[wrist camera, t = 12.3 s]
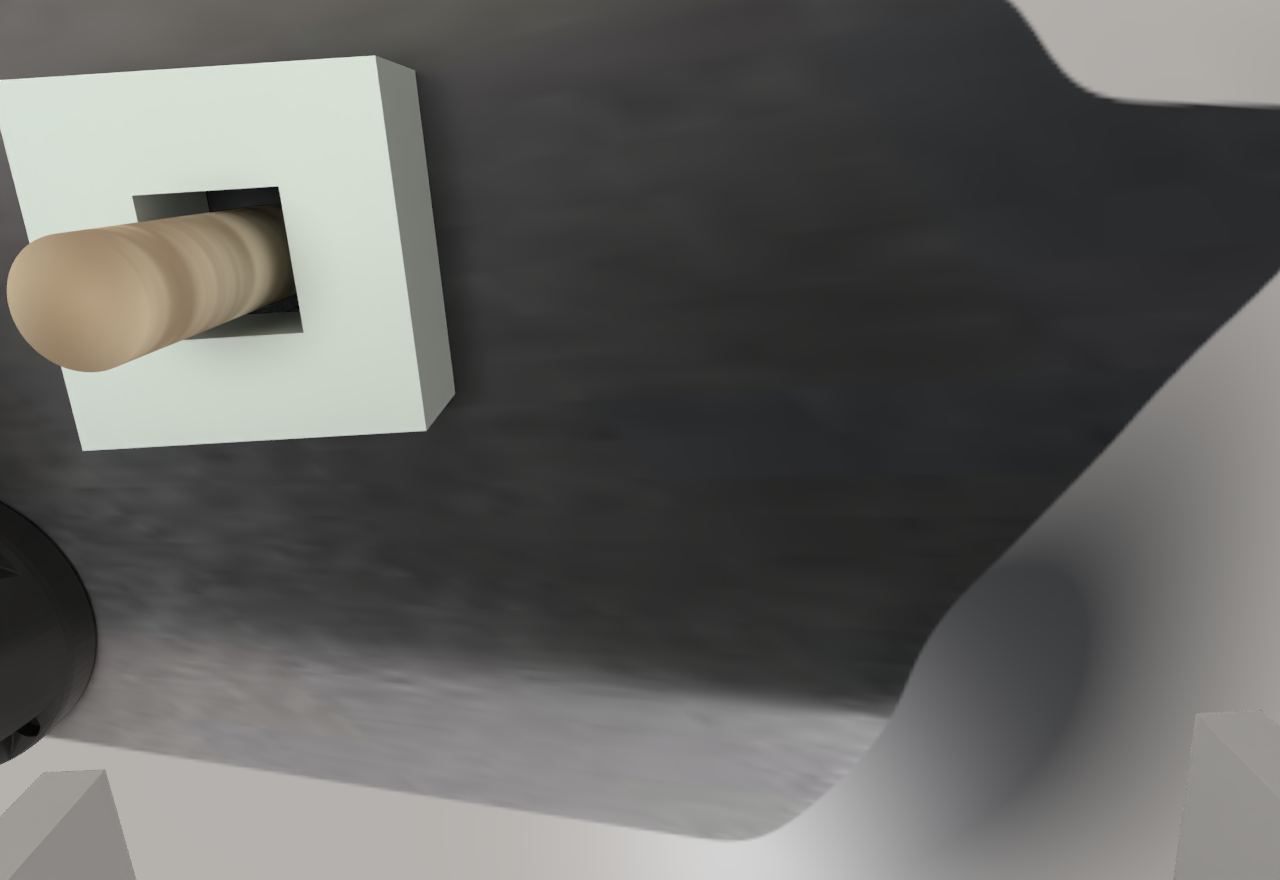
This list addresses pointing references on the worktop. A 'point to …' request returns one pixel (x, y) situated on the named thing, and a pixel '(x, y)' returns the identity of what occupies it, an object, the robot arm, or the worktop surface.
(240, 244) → the dowel long
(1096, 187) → the worktop surface
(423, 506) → the worktop surface
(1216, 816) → the robot arm
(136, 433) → the socket block
